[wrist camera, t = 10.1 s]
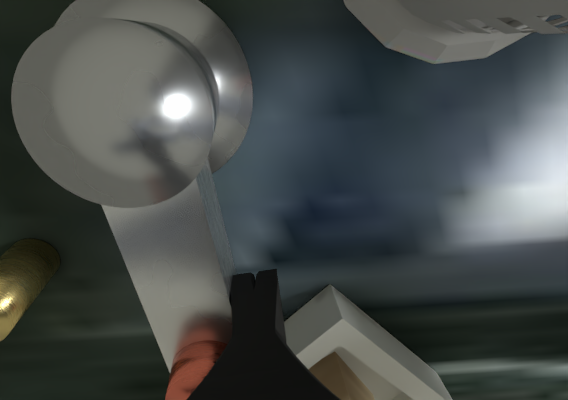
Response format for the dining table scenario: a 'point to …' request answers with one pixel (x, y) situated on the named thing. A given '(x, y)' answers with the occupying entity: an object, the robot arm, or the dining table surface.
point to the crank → (139, 169)
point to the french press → (456, 25)
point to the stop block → (340, 379)
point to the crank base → (226, 140)
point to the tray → (360, 348)
